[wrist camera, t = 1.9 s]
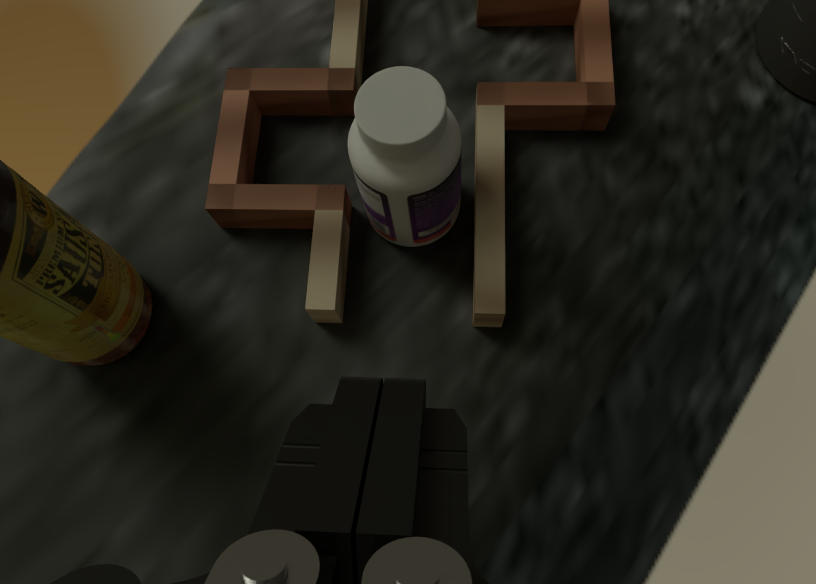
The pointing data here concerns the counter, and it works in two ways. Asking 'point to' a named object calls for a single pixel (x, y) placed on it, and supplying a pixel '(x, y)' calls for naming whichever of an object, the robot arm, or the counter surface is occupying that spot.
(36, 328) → the sauce bottle
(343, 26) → the trap channel
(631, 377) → the counter surface
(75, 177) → the counter surface
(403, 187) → the pill bottle
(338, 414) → the robot arm
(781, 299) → the counter surface
